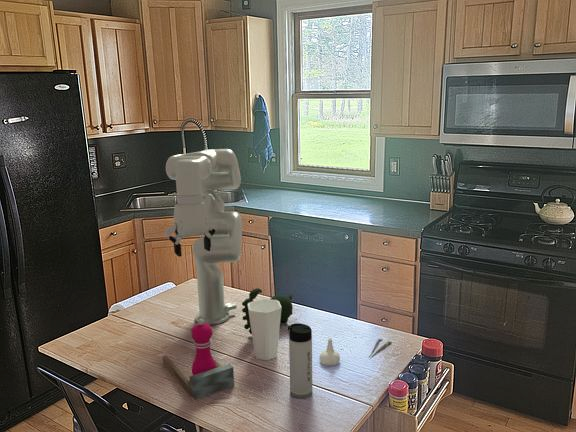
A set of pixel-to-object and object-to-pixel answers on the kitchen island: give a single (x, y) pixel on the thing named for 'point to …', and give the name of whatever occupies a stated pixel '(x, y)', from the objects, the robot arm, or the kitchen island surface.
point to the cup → (265, 327)
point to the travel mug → (300, 360)
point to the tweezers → (379, 348)
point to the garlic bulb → (329, 355)
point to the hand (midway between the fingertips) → (193, 252)
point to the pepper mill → (202, 348)
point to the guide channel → (203, 379)
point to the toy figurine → (283, 300)
